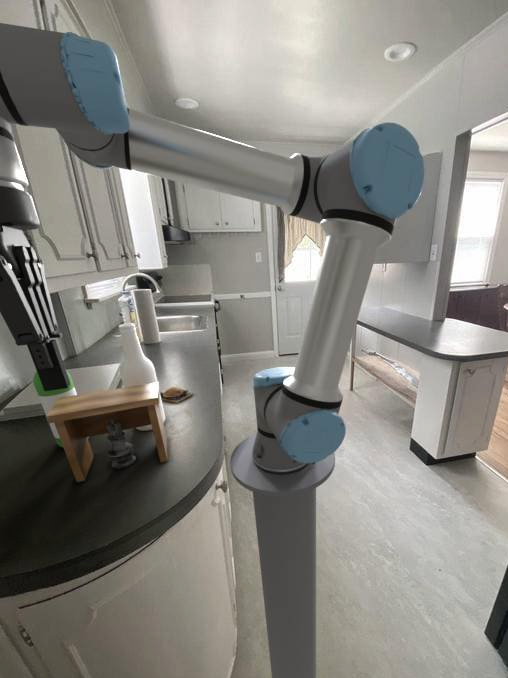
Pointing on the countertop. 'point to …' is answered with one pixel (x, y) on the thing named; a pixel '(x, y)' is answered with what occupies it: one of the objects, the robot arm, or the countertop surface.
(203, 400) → the countertop surface
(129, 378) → the alcohol
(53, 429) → the wine bottle
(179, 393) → the brown sandwich
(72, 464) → the desk
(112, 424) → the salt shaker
